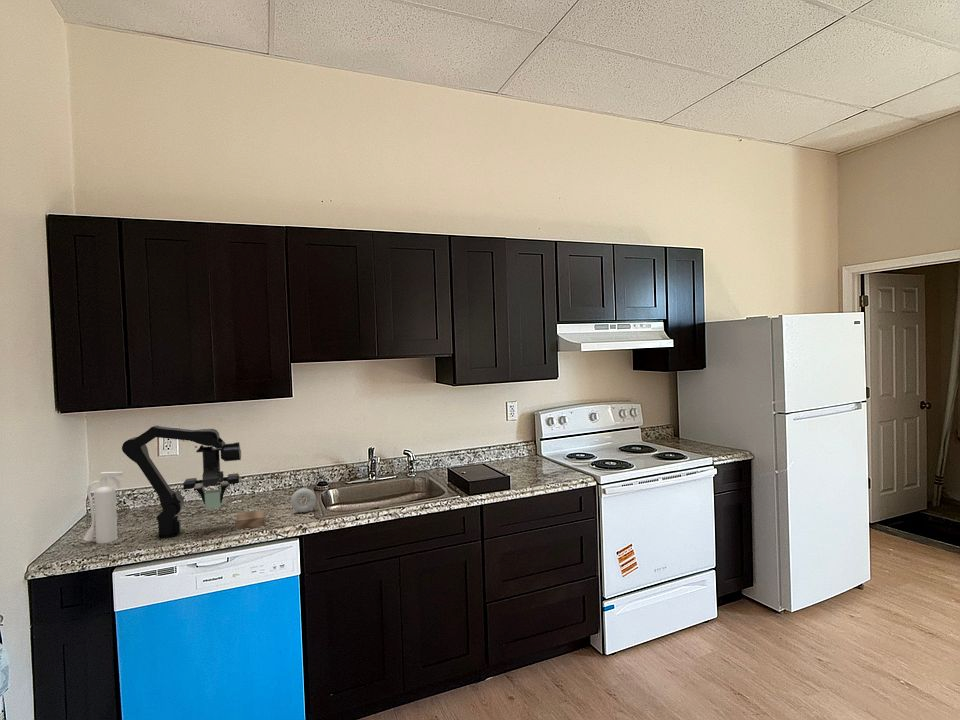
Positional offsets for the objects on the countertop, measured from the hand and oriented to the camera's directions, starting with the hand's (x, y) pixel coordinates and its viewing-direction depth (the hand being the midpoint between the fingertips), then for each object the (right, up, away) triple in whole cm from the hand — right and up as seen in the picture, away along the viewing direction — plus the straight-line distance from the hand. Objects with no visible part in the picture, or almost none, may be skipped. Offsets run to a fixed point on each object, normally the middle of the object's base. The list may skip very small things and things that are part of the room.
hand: (213, 503), depth 204 cm
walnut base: (+12, -10, +5) cm, 16 cm away
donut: (+28, -9, +19) cm, 35 cm away
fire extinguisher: (-35, -11, -9) cm, 38 cm away
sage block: (0, -1, 0) cm, 1 cm away
